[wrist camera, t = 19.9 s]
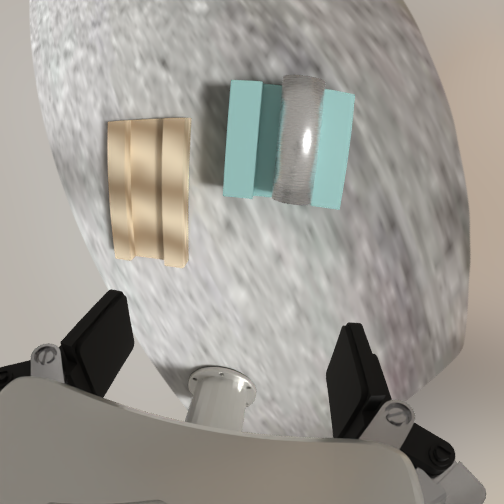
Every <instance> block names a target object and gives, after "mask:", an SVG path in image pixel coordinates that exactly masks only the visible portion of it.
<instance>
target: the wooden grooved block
mask: <svg viewBox="0 0 504 504" xmlns="http://www.w3.org/2000/svg"><path fill="white" fill-rule="evenodd" d="M190 133H191V118H164V119H142V120H123V121H112V122H108V141H107V150H108V185H109V202H110V214H111V225H112V234H113V243H114V251H115V258H116V259H123V260H130V261H131V260H132V259H133V258H134V257H135V256H141V257H148V258H155V259H162V260H164V261H165V266H171V267H178V268H184V266H185V265H186V263H187V262H188V260H189V256H188V188H189V155H190Z"/></svg>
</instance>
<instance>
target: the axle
mask: <svg viewBox="0 0 504 504" xmlns="http://www.w3.org/2000/svg"><path fill="white" fill-rule="evenodd" d="M325 83H326V82H325V81H324V80H322V79H319V78H315V77H310V76H303V75H286V76H283V82H282V94H281V105H280V116H279V126H278V137H277V147H276V157H275V167H274V177H273V187H272V199H274V200H276V201H279V202H282V203H287V204H294V205H307V204H311V203H312V196H313V189H314V182H315V175H316V167H317V159H318V151H319V143H320V134H321V125H322V115H323V105H324V94H325Z"/></svg>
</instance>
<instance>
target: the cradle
mask: <svg viewBox="0 0 504 504" xmlns="http://www.w3.org/2000/svg"><path fill="white" fill-rule="evenodd" d="M281 94H282V85H272V84H263V82H262V81H246V80H231V88H230V100H229V112H228V125H227V139H226V153H225V169H224V186H223V196H228V197H239V198H249V199H252V198H253V196H264V197H272V187H273V177H274V167H275V157H276V147H277V137H278V126H279V116H280V105H281ZM354 100H355V95H354V94H349V93H344V92H339V91H334V90H328V89H325V94H324V105H323V115H322V125H321V134H320V143H319V151H318V159H317V167H316V175H315V182H314V189H313V196H312V203H311V206H317V207H324V208H331V209H338V210H340V204H341V198H342V192H343V186H344V180H345V174H346V167H347V160H348V153H349V145H350V137H351V129H352V120H353V110H354Z"/></svg>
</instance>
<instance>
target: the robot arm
mask: <svg viewBox="0 0 504 504" xmlns="http://www.w3.org/2000/svg"><path fill="white" fill-rule="evenodd" d="M133 347H134V338H133V333H132V327H131V322H130V316H129V310H128V304H127V298H126V296H125V295H124V294H123V292H121V291H117V290H112V289H111V290H109V291H108V292H107V293H106V294H105V295H104V296H103V297H102V298H101V299H100V300H99V301H98V302H97V303H96V304H95V305H94V306H93V307H92V308H91V310H90V311H89V312H88V313H87V314H86V315H85V316H84V317H83V318H82V319H81V320H80V321H79V322H78V323H77V324H76V326H75V327H74V328H73V329H72V330H71V331H70V332H69V333H68V334H67V336H66V337H65V338H64V339H63V340H62V341H61V346H60V347H59V348H58V347H57V346H56V345H54V344H43V345H40V346H39V347H37V348H36V349H35V350H34V351H33V352H32V355H31V360H29V361H25V362H21V363H17V364H13V365H8V366H4V367H1V368H0V504H483V502H484V500H485V498H486V490H485V488H484V486H483V485H482V484H481V483H480V482H479V481H478V480H477V478H475V476H474V475H473V474H472V473H471V472H470V471H469V470H468V469H467V468H466V467H465V466H464V465H463V464H462V463H461V462H458V463H457V462H456V461H455V452H454V449H453V447H452V446H451V445H450V444H449V443H448V442H446V441H445V440H443V439H441V438H439V437H438V436H436V435H434V434H432V433H431V432H429V431H427V430H426V429H424V428H422V427H421V426H419V425H417V424H416V423H414V421H415V413H414V411H413V409H412V407H411V406H410V405H409V404H407V403H406V402H404V401H401V400H392V399H391V396H390V393H389V390H388V387H387V384H386V381H385V378H384V375H383V372H382V369H381V366H380V363H379V360H378V358H377V356H376V355H375V354H372V351H371V349H370V346H369V343H368V340H367V337H366V335H365V332H364V329H363V326H362V324H361V323H347V325H346V326H342V328H341V332H340V335H339V338H338V340H337V343H336V346H335V349H334V352H333V355H332V358H331V360H330V363H329V366H328V369H327V372H326V380H327V388H328V395H329V403H330V412H331V420H332V429H333V438H311V437H292V436H277V435H266V434H256V433H248V432H242V429H243V422H244V415H245V409H246V407H248V406H250V405H251V404H252V403H253V402H254V401H255V398H256V387H255V385H254V384H253V382H252V381H251V380H250V379H248V378H247V377H246V376H244V375H243V374H241V373H239V372H236V371H234V370H231V369H227V368H222V367H206V368H201V369H199V370H197V371H195V372H194V373H193V374H192V375H191V376H190V379H189V381H188V388H189V391H190V392H191V394H192V395H193V397H192V400H191V403H190V406H189V410H188V413H187V416H186V419H185V422H184V421H179V420H175V419H171V418H167V417H163V416H160V415H155V414H152V413H148V412H145V411H141V410H138V409H135V408H132V407H128V406H125V405H122V404H119V403H116V402H113V401H110V400H107V399H104V398H103V397H104V396H105V394H106V392H107V390H108V389H109V387H110V386H111V384H112V382H113V381H114V379H115V377H116V375H117V374H118V372H119V371H120V369H121V367H122V366H123V364H124V362H125V361H126V359H127V358H128V356H129V354H130V353H131V351H132V349H133Z"/></svg>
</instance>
